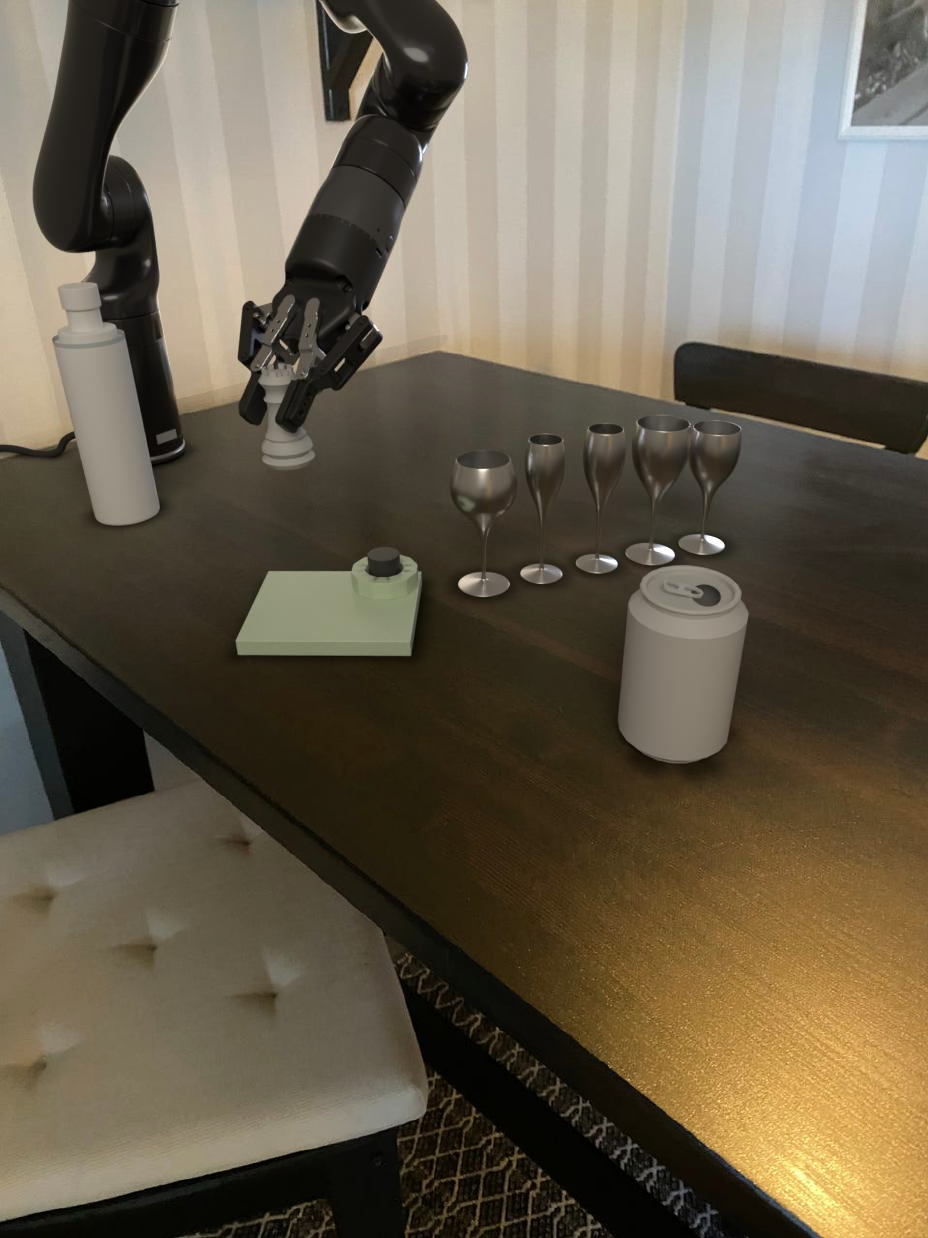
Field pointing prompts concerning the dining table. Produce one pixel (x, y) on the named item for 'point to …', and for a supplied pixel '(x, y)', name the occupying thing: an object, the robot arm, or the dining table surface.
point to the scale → (334, 613)
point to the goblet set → (596, 486)
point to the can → (681, 663)
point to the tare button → (384, 562)
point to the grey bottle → (104, 410)
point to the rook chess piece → (279, 444)
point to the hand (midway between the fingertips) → (266, 423)
